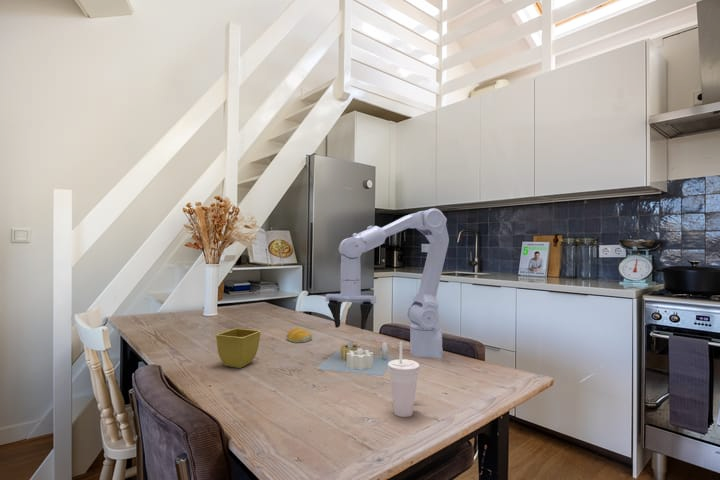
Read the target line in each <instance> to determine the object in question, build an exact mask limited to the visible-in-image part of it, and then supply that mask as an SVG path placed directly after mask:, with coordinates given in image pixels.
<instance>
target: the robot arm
mask: <svg viewBox="0 0 720 480" xmlns="http://www.w3.org/2000/svg"><path fill="white" fill-rule="evenodd" d="M447 221H448V219H447V217H446V216H445V215H444V213H443V212H442V210H440V209H438V208H435V207H433V208H429V209H426V210H420V211H417V212H414V213H409V214H408V215H407V214H406V215H404V216H402V217H400V218H398V219H395V220H394V221H393V222H390V223H388V224H386V225H384V226H382V227H381V226H378V225H369V226H367V227H366V230H365V229H364V230H363V231H360V232H358V233H357V232H354V233H352V236H351V237H347V238H345V239H343V240H342V241H341V242H340V243H339V247H338V252H339V254H340V293H327V294H325V302H328V303H327V306H328V308H329V311H330V312H331V313H330V314H331V315H332V318H333V322H334V326H335V327H334V328H336V329H337V328H338V329H339V328H340V327H341V309H342V302H343V303H361V304H360V305H359V307H360V315H361V317H360V318H361V319H360V321H361V322H360V329H361V330H365V329H366V327H367V323H368V318H369V315H370V312H371V309H372V308H373V305H374V304H376V303H377V296H376V295H370V294H369V295H367V294H361V293H362V292H361V291H362V289H361V285H362V284H361V279H362V278H361V277H362V275H361V274H362V273H361V272H362V271H361V269H362V268H361V267H362V265H361V256H362V254H363V253H367V252H368V251H371V250H372V249H375V248H377V247H379V246H381V245H383V244H384V243H385V241H386V239H387V238H389V237H391V236H392V235H395V234H398V233H400V232H403V231H405V230H407V229H416V230H417V231H419V233H421V234H423V236H425V238H426V240H427V241H428V242H429V246H428V251H427V255H426V258H425V259H426V260H425V261H424V262H425V263H424V268H423V271H422V276H421V281H420V283H419V284H420V285H419V288H418V292H417V294H416V295H415V296H414V297H413V300H412V303H411V304H410V306H408V309H407V311H406V312H407V317H408V319H409V321H410V328H409V329H410V331H409V333H410V335H409V337H410V343H409V344H410V346H409V348H410V351H409V353H410V355H411V356H414V357H418V358H432V359H433V358H434V359H439V363H441V361H442V358H443V354H444V350H443V349H444V348H443V330H442V329H441V328H437V327H436V326H437V324H438V322H439V303H438V300H437V294H438V291H439V290H438V289H439V285H440V280H441V277H442V273H443V269H444V264H445V261H446V260H445V259H446V257H447V253H448V248H449V243H450V236H449V232H448V228H447Z"/></svg>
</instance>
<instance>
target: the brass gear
mask: <svg viewBox="0 0 720 480" xmlns="http://www.w3.org/2000/svg"><path fill="white" fill-rule="evenodd" d="M358 348H362V346H361V345H359V344H357V343H356V344H354V343H353V348H348V343H347V344H342V345H341V346H340V352H341V359H343V361H347V353H349V351H351V350H352V351H357V349H358Z"/></svg>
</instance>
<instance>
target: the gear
mask: <svg viewBox="0 0 720 480" xmlns="http://www.w3.org/2000/svg"><path fill="white" fill-rule="evenodd" d="M373 355H374V352H373V351H372V352H371V351H370V350H368V349H365V350H363V355H357V351H352V350H351V351H349V353H347V367H350V369H352V370H353V369H359V370H363V369H366V368H367V369H371V368H372V366H373Z"/></svg>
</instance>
